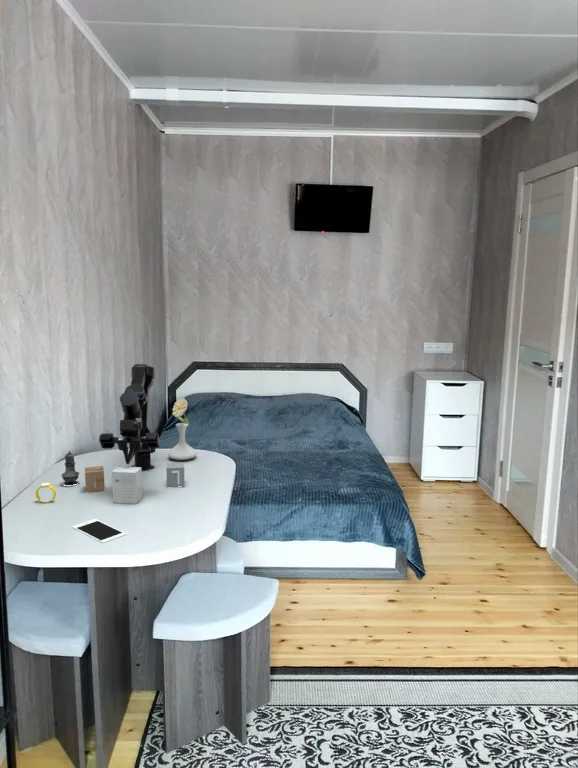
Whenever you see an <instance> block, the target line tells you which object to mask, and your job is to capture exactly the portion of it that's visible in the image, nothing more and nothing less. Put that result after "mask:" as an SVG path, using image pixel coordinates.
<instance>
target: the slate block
mask: <svg viewBox="0 0 578 768" xmlns="http://www.w3.org/2000/svg"><path fill="white" fill-rule="evenodd" d="M165 467H166V469H165V470H166V488H167V487H172V488H179V487H178V486H186V485H185V462H166V466H165Z"/></svg>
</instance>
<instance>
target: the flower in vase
mask: <svg viewBox="0 0 578 768" xmlns="http://www.w3.org/2000/svg"><path fill="white" fill-rule="evenodd" d="M188 404H189V403H188V401H187V400H186V399H185V397H183V398H179V399H177V401H176V402H174V405H173V408H172V415H173V416H174V417H175V418H177V419H178V420H179V421H181V422H178V423H176V424H175V427H176V428H177V431H178V435H179V436H178V443H177V444H175V446H174V447H172V448H171V449H170V450H169V451H168V453H167V456H168V458H170V459H173V460H177V461H178V460H179V461H184V460H191V459H193V458H195V457H196V456H197V455H198V453H197V451H196V449H194V448H193V447H192V446H190V445H189V444H188V443H187V442H186V430H187V427H188V426H189V424H190V422H189V418H188V417H186V413H185V412H186V410H187V409H188ZM181 416H184V418H182V417H181Z"/></svg>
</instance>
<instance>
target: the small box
mask: <svg viewBox="0 0 578 768" xmlns="http://www.w3.org/2000/svg"><path fill="white" fill-rule="evenodd" d="M142 471H143V470H142V468H141V467H131V466H122V465H121V466H117V467H115V469H113V470H112V471H111V479H112V483H111V484H112V499H113V501H112V502H113V503H114V502H116V503H118V504H133V505H134V504H135V505H137V504H138V503H139V502H140V501H141V500H142V499H143V498H144V495H143V472H142Z"/></svg>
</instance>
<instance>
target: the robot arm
mask: <svg viewBox="0 0 578 768" xmlns="http://www.w3.org/2000/svg"><path fill="white" fill-rule="evenodd" d="M130 377H131V382H130V385H129V386H127V387H126V388H125V390H124V392H123V393H122V394H120V397H119V403H120V405H121V410H122V413H123V419H120V420H119V434H120V435H117V436H115V437H114V433H113V432H112V433H111V432H110V433H109V432H108V433H107V432H105V433H103V432H102V433H101V434H100V435H99V436H98V437H99V438H98V441H99V444H100V447H101V449H113V448H115V444H117V447H118V450H119V451H122V454H123V455H124V459H125V463H126V465H129V464H130V463H131V462H132V460H133V458H134V465H133V464H132V465H130V467H141V468H142V471H145V470H149V469H153V468H155V466H154V465H152V463H151V462H152V460H151V459H152V458H151V454H153V453H155V452H156V449H158V448H160V444H161V443H160V442H161V440H160V436H159V434H158V432H151V431H150V429H149V426H148V425H149V401H150V400H149V397H150V396H149V395H150V389H151V388H152V386H153V385H154V380H155V379H156V369H155V367H153V366H150V365H148V364H146V363H135V364H134V365H133V366H132V367H131V372H130ZM128 445H129V446H128Z"/></svg>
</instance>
